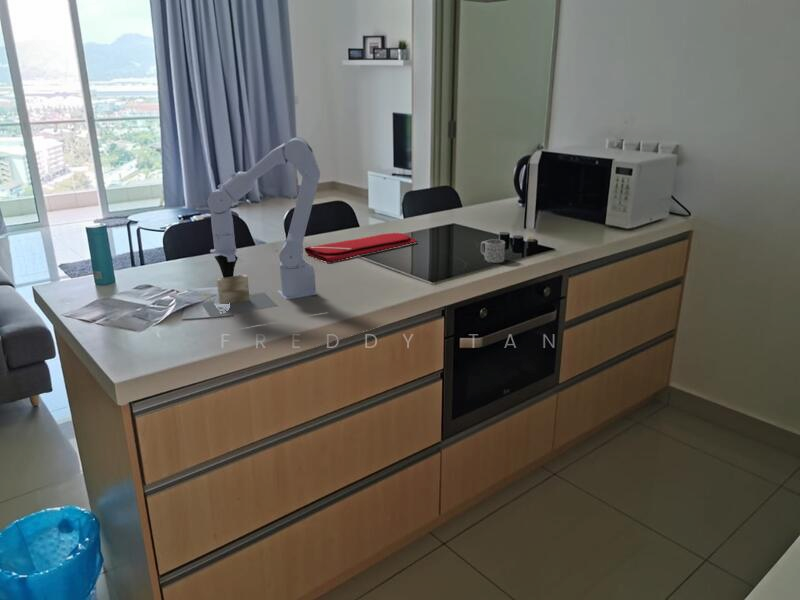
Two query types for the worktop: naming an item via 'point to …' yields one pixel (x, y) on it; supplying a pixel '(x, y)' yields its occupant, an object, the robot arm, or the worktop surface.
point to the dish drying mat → (357, 246)
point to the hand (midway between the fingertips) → (228, 280)
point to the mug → (493, 250)
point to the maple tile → (233, 289)
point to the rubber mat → (241, 305)
